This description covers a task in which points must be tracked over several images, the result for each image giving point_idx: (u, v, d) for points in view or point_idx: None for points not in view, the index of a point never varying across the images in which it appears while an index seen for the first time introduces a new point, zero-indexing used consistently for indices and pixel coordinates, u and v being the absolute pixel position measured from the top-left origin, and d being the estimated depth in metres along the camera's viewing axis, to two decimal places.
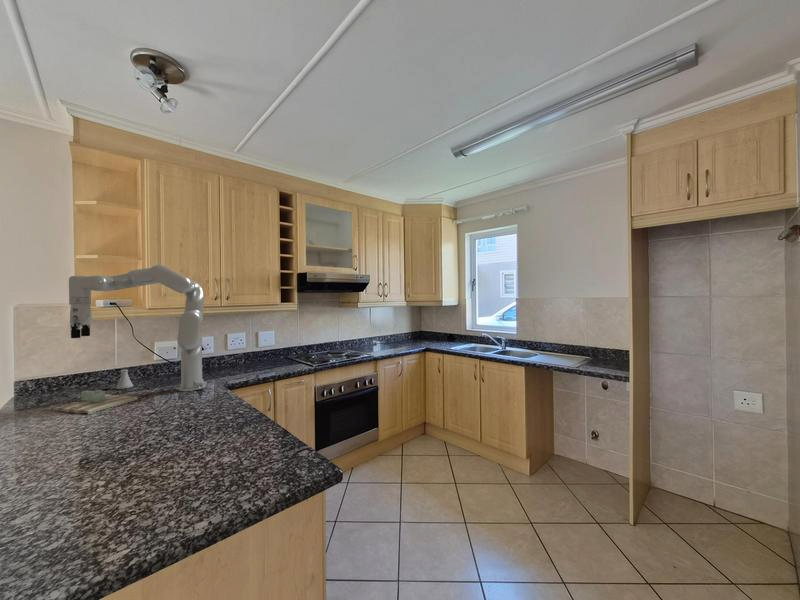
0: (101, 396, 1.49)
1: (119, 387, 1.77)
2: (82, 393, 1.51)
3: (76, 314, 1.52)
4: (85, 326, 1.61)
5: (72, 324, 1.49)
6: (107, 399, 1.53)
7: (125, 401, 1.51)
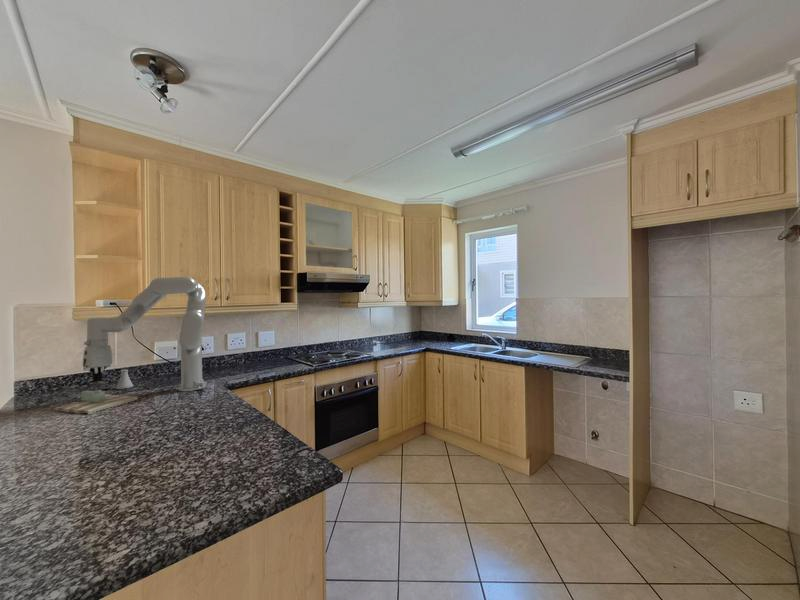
0: (101, 396, 1.49)
1: (119, 387, 1.77)
2: (82, 393, 1.51)
3: (85, 357, 1.52)
4: (99, 370, 1.57)
5: (88, 370, 1.53)
6: (107, 399, 1.53)
7: (125, 401, 1.51)
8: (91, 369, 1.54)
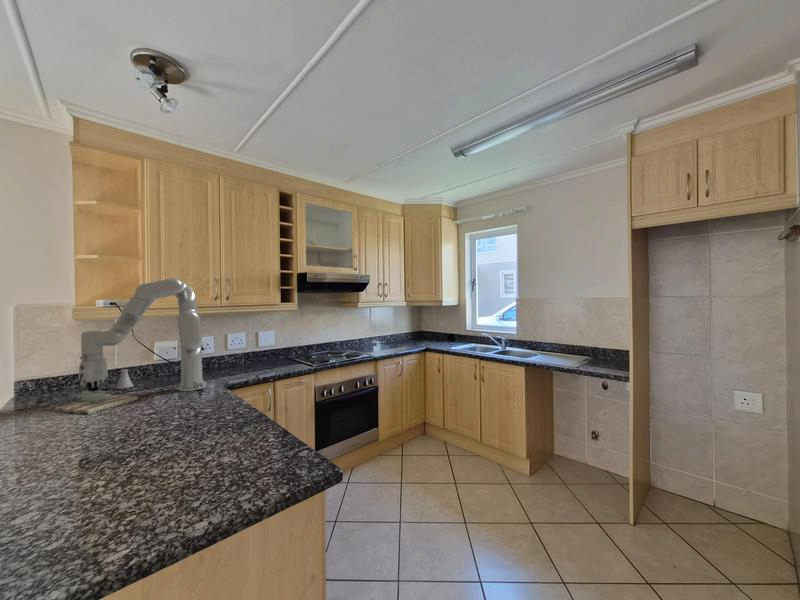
0: (101, 396, 1.49)
1: (119, 387, 1.77)
2: (82, 393, 1.51)
3: (82, 372, 1.49)
4: (95, 384, 1.55)
5: (85, 385, 1.51)
6: (107, 399, 1.53)
7: (125, 401, 1.51)
8: (88, 384, 1.51)
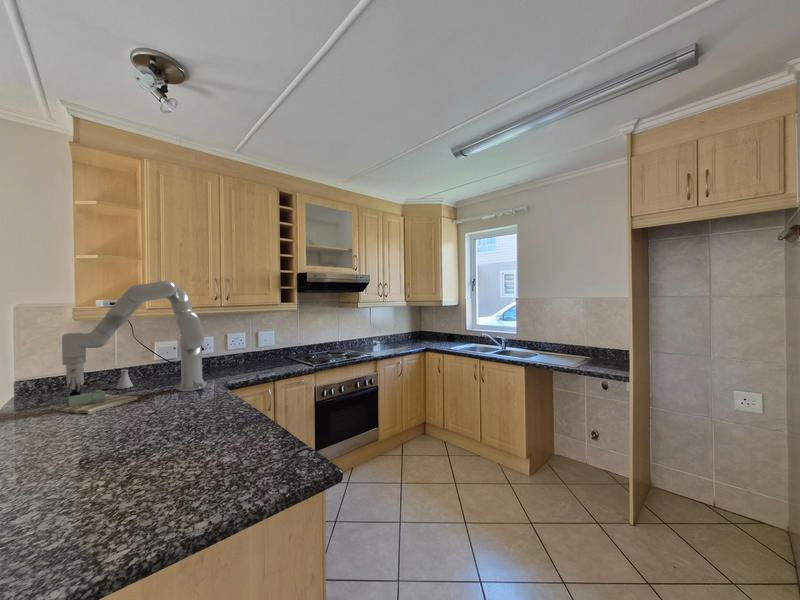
0: None
1: (119, 387, 1.77)
2: (71, 398, 1.43)
3: (74, 375, 1.43)
4: None
5: (74, 389, 1.44)
6: (107, 399, 1.53)
7: (125, 401, 1.51)
8: (76, 388, 1.45)
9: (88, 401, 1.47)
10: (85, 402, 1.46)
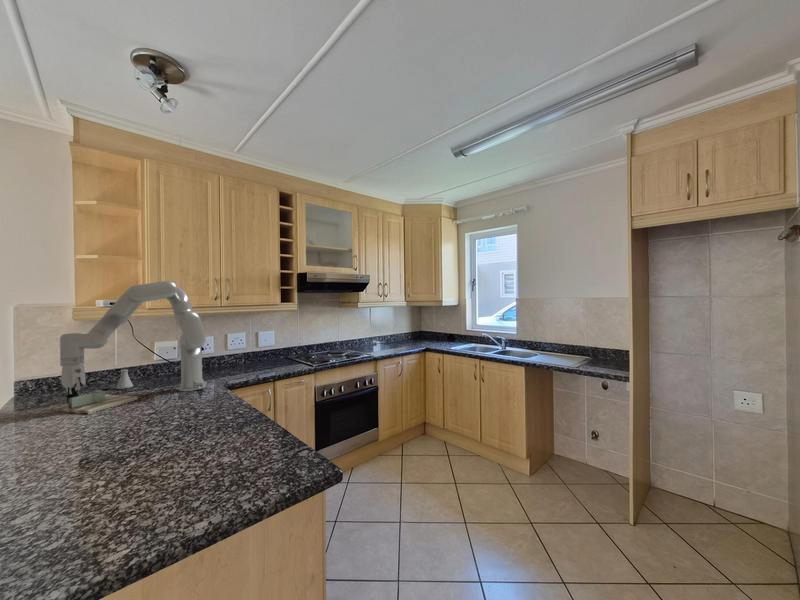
0: None
1: (119, 387, 1.77)
2: (73, 399, 1.41)
3: (79, 375, 1.42)
4: None
5: (76, 390, 1.42)
6: (107, 399, 1.53)
7: (125, 401, 1.51)
8: None
9: (90, 401, 1.46)
10: (87, 402, 1.45)
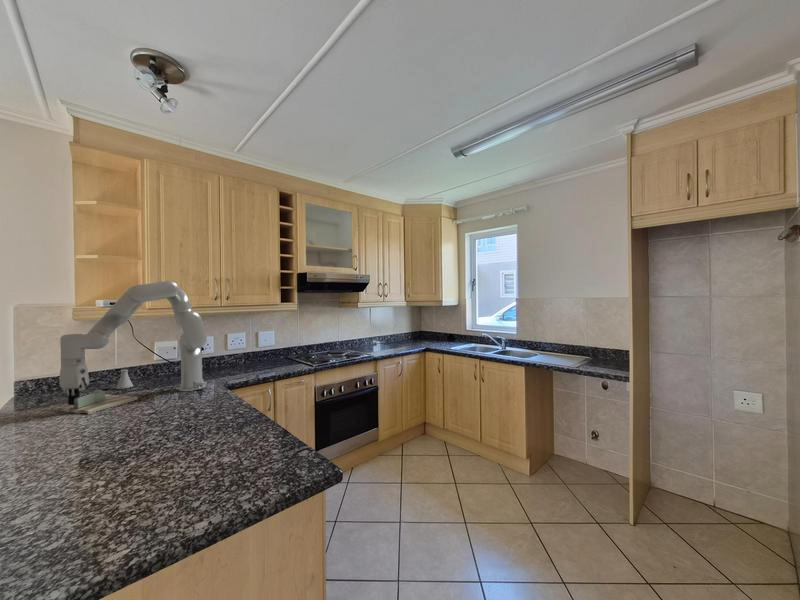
0: None
1: (119, 387, 1.77)
2: (79, 399, 1.41)
3: (84, 376, 1.42)
4: None
5: (80, 391, 1.41)
6: (107, 399, 1.53)
7: (125, 401, 1.51)
8: None
9: (92, 401, 1.46)
10: (90, 402, 1.45)
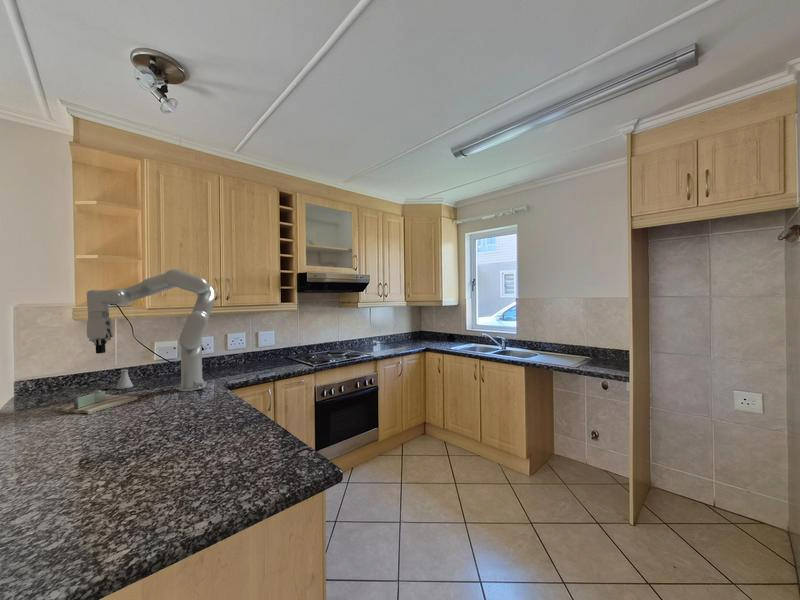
0: None
1: (119, 387, 1.77)
2: (79, 399, 1.41)
3: (109, 327, 1.57)
4: (98, 342, 1.58)
5: (106, 341, 1.57)
6: (107, 399, 1.53)
7: (125, 401, 1.51)
8: None
9: (92, 401, 1.46)
10: (90, 402, 1.45)
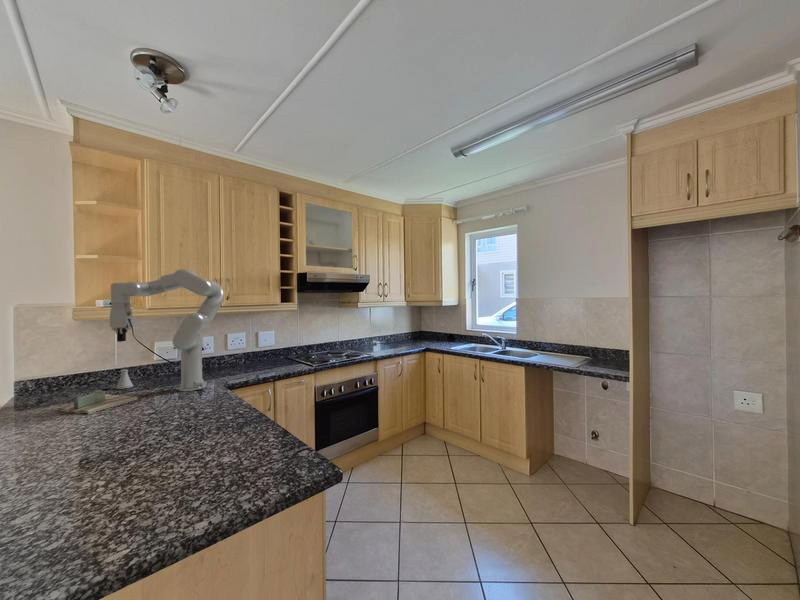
0: None
1: (119, 387, 1.77)
2: (79, 399, 1.41)
3: (129, 317, 1.69)
4: None
5: (127, 330, 1.69)
6: (107, 399, 1.53)
7: (125, 401, 1.51)
8: None
9: (92, 401, 1.46)
10: (90, 402, 1.45)
